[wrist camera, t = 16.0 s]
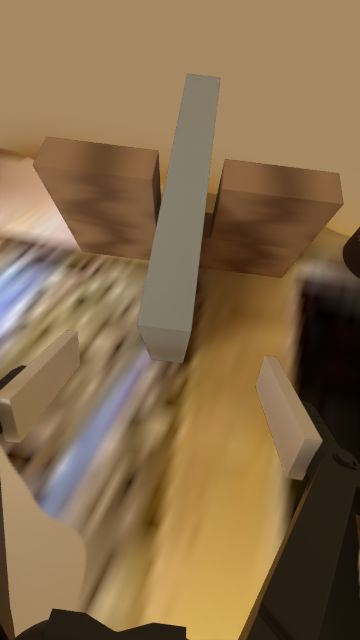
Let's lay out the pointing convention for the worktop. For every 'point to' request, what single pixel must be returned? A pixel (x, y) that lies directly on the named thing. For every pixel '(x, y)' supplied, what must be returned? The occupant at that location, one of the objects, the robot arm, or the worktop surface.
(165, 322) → the grey plain narrow board
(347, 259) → the coffee mug
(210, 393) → the worktop surface
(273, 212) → the walnut slotted board
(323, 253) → the worktop surface
